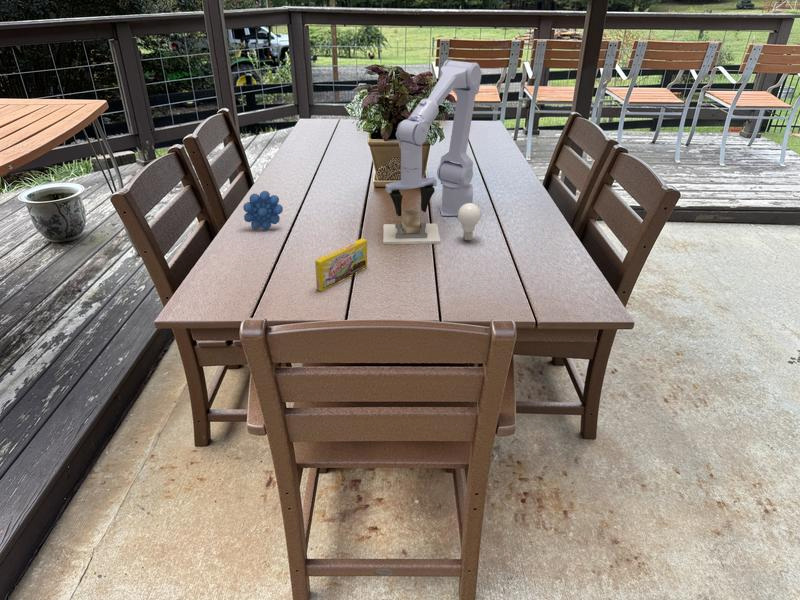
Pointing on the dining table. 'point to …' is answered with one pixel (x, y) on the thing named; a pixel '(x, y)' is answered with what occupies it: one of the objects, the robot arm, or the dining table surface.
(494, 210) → the dining table surface
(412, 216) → the birch block
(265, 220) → the blue knobbed flower
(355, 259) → the candy box
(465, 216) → the lightbulb
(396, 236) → the socket board
